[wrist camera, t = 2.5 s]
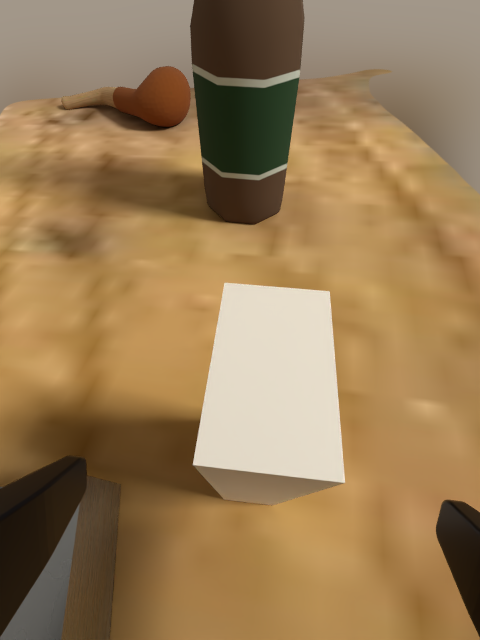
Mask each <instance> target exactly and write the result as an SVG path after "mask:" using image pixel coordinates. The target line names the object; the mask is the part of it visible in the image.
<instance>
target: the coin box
mask: <svg viewBox="0 0 480 640" xmlns="http://www.w3.org/2000/svg"><path fill="white" fill-rule="evenodd" d="M0 488H2V487H0ZM120 489H121V484H117V483H114V482H110V481H106V480H102V479H98V478H95V477H91V476H87V488H86V491H85V494H84V496H83V498H82V500H81V502H80V503H79V505H78V507H77V509H76V511H75V513H74V515H73V517H72V519H71V521H70V522H69V524H68V526H67V528H66V530H65V532H64V534H63V536H62V538H61V539H60V541H59V543H58V545H57V547H56V549H55V551H54V553H53V554H52V556H51V558H50V560H49V561H48V563H47V565H46V566H45V568H44V569H43V571H42V573H41V574H40V576H39V577H38V579H37V581H36V582H35V584H34V585H33V587H32V588H31V590H30V592H29V593H28V595H27V596H26V598H25V599H24V601H23V602H22V604H21V606H20V607H19V609H18V610H17V612H16V613H15V615H14V617H13V618H12V620H11V621H10V623H9V624H8V626H7V628H6V629H5V631H4V632H3V634H2V635H1V637H0V640H109V639H110V625H111V612H112V598H113V584H114V571H115V557H116V543H117V530H118V516H119V502H120Z"/></svg>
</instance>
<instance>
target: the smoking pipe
mask: <svg viewBox="0 0 480 640" xmlns="http://www.w3.org/2000/svg"><path fill="white" fill-rule="evenodd" d="M62 104H63V106H64V108H65V109H67V110H70V109H75V108H80V107H85V106H91V105H108V106H112V107H114V108H116V109H118V110H119V111H121V112H124V113H127V114H130V115H134V116H137V117H140V118H141V119H143V120H145V121H146V122H148V123H151V124H154V125H157V126H163V127H170V126H174V125H177V124H178V123H180V122H181V121H182V120H183V119H184V118H185V117H186V115H187V113H188V110H189V106H190V87H189V84H188V81H187V79H186V77H185V76H184V75H183V73H182V72H181V71H179V70H178V69H176V68H174V67H169V66H166V67H159V68H156V69H155V70H153V71H152V72H151V73H150V74H149V75H148V76H147V78H146V79H145V80H144V81H143V82H142V83H141V85H140V86H139V87H138V88H137V89H130V88H125V87H118V88H115V87H104V88H100V89H97V90H93V91H89V92H86V93H81V94H77V95H72V96H63V97H62Z"/></svg>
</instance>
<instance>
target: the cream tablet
mask: <svg viewBox="0 0 480 640" xmlns="http://www.w3.org/2000/svg"><path fill="white" fill-rule="evenodd" d="M193 466H194V467H195V468H196V469H197V470H198V471H199V472H200V474H201V475H202V476H203V477H204V478H205V479H206V480H207V481H208V482H209V483H210V484H211V486H212V487H213V488H214V489H215V490H216V491H217V492H218V493H219V494H220V495H221V497H222V498H223V499H225V500H233V501H241V502H249V503H257V504H265V505H275V504H278V503H282V502H285V501H288V500H291V499H295V498H298V497H301V496H304V495H308V494H311V493H314V492H317V491H320V490H324V489H327V488H330V487H333V486H337V485H340V484H343V483H345V477H344V465H343V452H342V440H341V428H340V415H339V403H338V390H337V378H336V366H335V353H334V341H333V328H332V316H331V304H330V291H318V290H306V289H294V288H282V287H270V286H258V285H246V284H234V283H225V284H224V290H223V296H222V301H221V307H220V313H219V318H218V324H217V330H216V335H215V341H214V347H213V352H212V358H211V364H210V369H209V375H208V381H207V387H206V392H205V398H204V404H203V409H202V415H201V421H200V426H199V432H198V438H197V443H196V449H195V455H194V461H193Z"/></svg>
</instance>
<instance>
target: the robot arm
mask: <svg viewBox="0 0 480 640" xmlns="http://www.w3.org/2000/svg"><path fill="white" fill-rule="evenodd" d="M86 488H87V470H86V460H85V458H84V457H81V456H73V455H69V456H66V457H64V458H62V459H60V460H58V461H56V462H54V463H52V464H50V465H47V466H45V467H43V468H41V469H39V470H37V471H35V472H33V473H31V474H29V475H27V476H25V477H23V478H21V479H19V480H17V481H15V482H13V483H10V484H8V485H6V486H4V487H2V488H0V637H1V635H2V634H3V632H4V631H5V629H6V628H7V626H8V624H9V623H10V621H11V620H12V618H13V617H14V615H15V613H16V612H17V610H18V609H19V607H20V606H21V604H22V602H23V601H24V599H25V598H26V596H27V595H28V593H29V592H30V590H31V588H32V587H33V585H34V584H35V582H36V581H37V579H38V577H39V576H40V574H41V573H42V571H43V569H44V568H45V566H46V565H47V563H48V561H49V560H50V558H51V556H52V554H53V553H54V551H55V549H56V547H57V545H58V543H59V541H60V539H61V538H62V536H63V534H64V532H65V530H66V528H67V526H68V524H69V522H70V521H71V519H72V517H73V515H74V513H75V511H76V509H77V507H78V505H79V503H80V502H81V500H82V498H83V496H84V494H85V491H86ZM436 534H437V538H438V541H439V543H440V546H441V548H442V551H443V553H444V556H445V558H446V560H447V563H448V565H449V568H450V570H451V573H452V575H453V577H454V580H455V582H456V585H457V587H458V590H459V592H460V594H461V597H462V599H463V602H464V604H465V606H466V609H467V611H468V613H469V615H470V618H471V620H472V622H473V624H474V626H475V628H476V630H477V632H478V634H479V636H480V512H478V511H477V510H475V509H474V508H472V507H471V506H469V505H468V504H466V503H465V502H462V501H455V500H445V501H444V502H443V503H442V505H441V509H440V513H439V517H438V521H437V525H436Z"/></svg>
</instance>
